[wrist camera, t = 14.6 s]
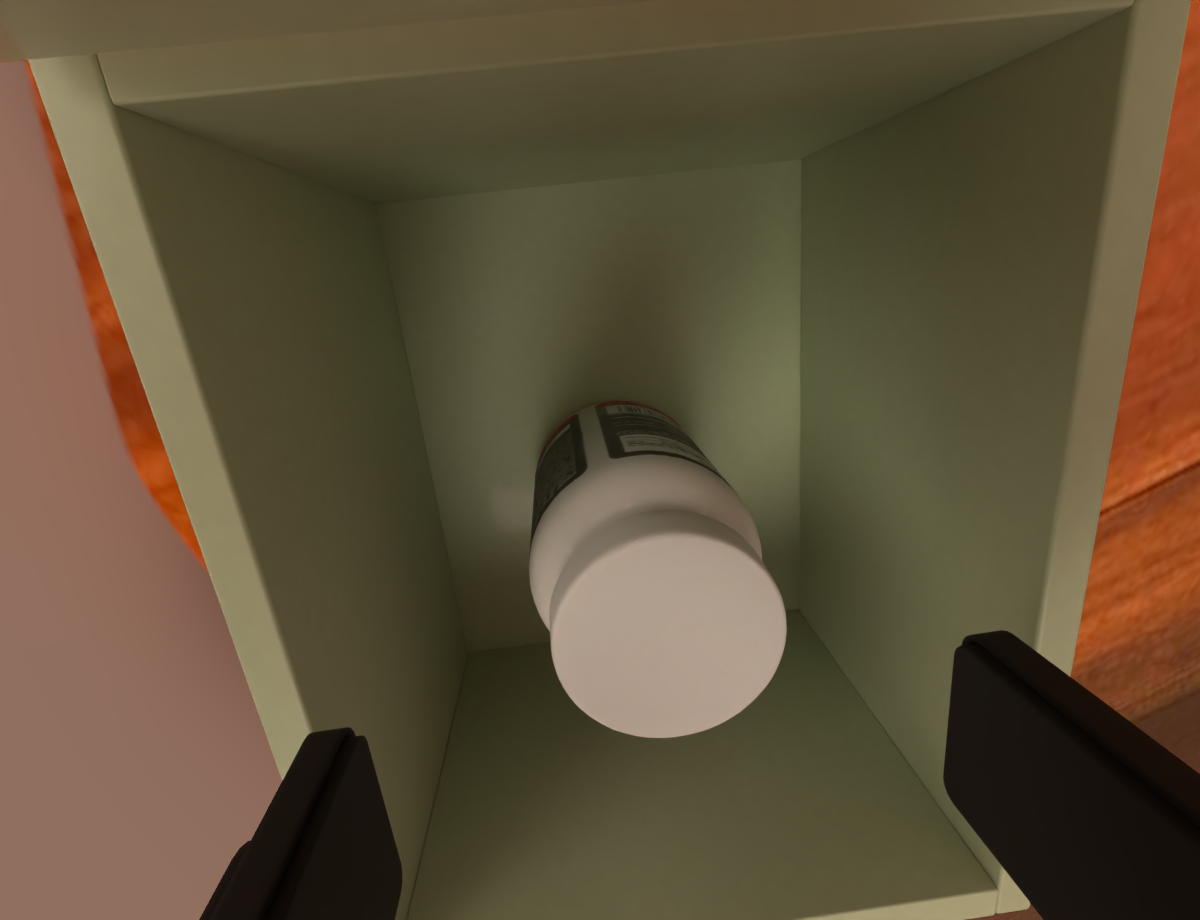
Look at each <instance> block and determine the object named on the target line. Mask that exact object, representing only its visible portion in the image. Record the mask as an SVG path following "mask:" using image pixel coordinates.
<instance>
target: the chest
mask: <svg viewBox="0 0 1200 920" xmlns="http://www.w3.org/2000/svg"><path fill="white" fill-rule="evenodd" d="M1190 5H1191V0H660V1H649V2H638V3H628V4H617V5H606V6H596V7H585V8H575V9H564V10H553V11H543V12H532V13H521V14H511V15H500V16H490V17H479V18H468V19H458V20H447V21H436V22H426V23H415V24H404V25H394V26H383V27H373V28H362V29H351V30H341V31H330V32H319V33H309V34H298V35H288V36H277V37H266V38H256V39H245V40H234V41H224V42H213V43H202V44H192V45H181V46H171V47H160V48H149V49H139V50H128V51H117V52H107V53H96V54H86V55H75V56H64V57H54V58H43V59H32V60H28V61H29V64H30V67H31V70H32V73H33V75H34V78H35V81H36V84H37V87H38V90H39V92H40V95H41V98H42V101H43V104H44V107H45V109H46V112H47V115H48V118H49V121H50V124H51V126H52V129H53V132H54V135H55V138H56V141H57V143H58V146H59V149H60V152H61V155H62V158H63V161H64V163H65V166H66V169H67V172H68V175H69V178H70V180H71V183H72V186H73V189H74V192H75V195H76V197H77V200H78V203H79V206H80V209H81V212H82V214H83V217H84V220H85V223H86V226H87V229H88V231H89V234H90V237H91V240H92V243H93V246H94V248H95V251H96V254H97V257H98V260H99V263H100V265H101V268H102V271H103V274H104V277H105V280H106V282H107V285H108V288H109V291H110V294H111V297H112V299H113V302H114V305H115V308H116V311H117V314H118V316H119V319H120V322H121V325H122V328H123V331H124V333H125V336H126V339H127V342H128V345H129V348H130V350H131V353H132V356H133V359H134V362H135V365H136V367H137V370H138V373H139V376H140V379H141V382H142V385H143V387H144V390H145V393H146V396H147V399H148V402H149V404H150V407H151V410H152V413H153V416H154V419H155V421H156V424H157V427H158V430H159V433H160V436H161V438H162V441H163V444H164V447H165V450H166V453H167V455H168V458H169V461H170V464H171V467H172V470H173V472H174V475H175V478H176V481H177V484H178V487H179V489H180V492H181V495H182V498H183V501H184V504H185V506H186V509H187V512H188V515H189V518H190V521H191V523H192V526H193V529H194V532H195V535H196V538H197V540H198V543H199V546H200V549H201V552H202V555H203V557H204V560H205V563H206V566H207V569H208V572H209V574H210V577H211V580H212V583H213V586H214V588H215V592H216V594H217V597H218V600H219V603H220V606H221V608H222V611H223V614H224V617H225V620H226V622H227V626H228V628H229V631H230V634H231V637H232V640H233V642H234V645H235V648H236V651H237V654H238V657H239V659H240V662H241V665H242V668H243V671H244V674H245V677H246V679H247V682H248V685H249V688H250V690H251V694H252V696H253V699H254V702H255V705H256V708H257V710H258V713H259V716H260V719H261V722H262V725H263V728H264V730H265V733H266V736H267V739H268V742H269V745H270V747H271V750H272V753H273V756H274V759H275V761H276V764H277V767H278V770H279V773H280V776H281V778H282V781H283V779H284V777H285V775H286V773H287V771H288V770H289V768H290V766H291V764H292V762H293V760H294V758H295V756H296V754H297V752H298V751H299V749H300V747H301V745H302V743H303V741H304V739H305V738H306V737H307V735H308V734H310V733H312V732H318V731H324V730H331V729H338V728H345V727H350V728H352V730H353V731H354V733H355V735H356V736H360V735H363V736H365V737H366V739H367V742H368V745H369V749H370V752H371V756H372V760H373V763H374V767H375V770H376V774H377V778H378V781H379V785H380V789H381V792H382V796H383V799H384V803H385V807H386V810H387V814H388V818H389V821H390V825H391V828H392V832H393V836H394V839H395V843H396V846H397V850H398V854H399V857H400V861H401V865H402V890H401V895H400V900H399V904H398V908H397V912H396V917H395V920H965V919H972V918H978V917H985V916H992V915H994V914H995V912H996V913H1005V912H1012V911H1018V910H1025V909H1028V908H1029V906H1030V902H1029V900H1028V899H1027V898H1026V896H1025V895H1024V894H1023V893H1022V891H1021V890H1020V889H1019V887H1018V886H1017V885H1016V884H1015V882H1014V881H1013V880H1012V879H1011V877H1010V876H1009V875H1008V873H1007V872H1006V871H1005V870H1004V868H1003V867H1002V866H1001V864H1000V863H999V862H998V861H997V859H996V858H995V857H994V856H993V854H992V853H991V852H990V850H989V849H988V848H987V847H986V845H985V844H984V843H983V841H982V840H981V839H980V838H979V836H978V835H977V834H976V832H975V831H974V830H973V829H972V827H971V826H970V825H969V824H968V822H967V821H966V820H965V818H964V817H963V816H962V815H961V813H960V812H959V811H958V809H957V808H956V807H955V806H954V804H953V803H952V801H951V800H950V798H949V796H948V794H947V792H946V789H945V786H944V781H943V772H944V761H945V750H946V739H947V727H948V716H949V705H950V694H951V683H952V672H953V661H954V653H955V650H956V648H957V647H959V646H961V645H962V641H963V639H964V638H965V637H966V636H968V635H972V634H979V633H986V632H993V631H999V630H1004V631H1008V632H1010V633H1012V634H1014V635H1015V636H1016V637H1018V638H1019V639H1020V640H1022V641H1023V642H1024V643H1026V644H1027V645H1028V646H1030V647H1031V648H1032V649H1034V650H1035V651H1036V652H1038V653H1039V654H1040V655H1042V656H1043V657H1044V658H1046V659H1047V660H1048V661H1050V662H1051V663H1052V664H1054V665H1055V666H1056V667H1058V668H1059V669H1060V670H1062V671H1063V672H1064V673H1066V674H1067V675H1068V676H1070V677H1071V671H1072V666H1073V660H1074V655H1075V649H1076V643H1077V638H1078V632H1079V627H1080V621H1081V615H1082V610H1083V604H1084V599H1085V593H1086V587H1087V582H1088V576H1089V571H1090V565H1091V559H1092V554H1093V548H1094V543H1095V537H1096V531H1097V526H1098V520H1099V515H1100V509H1101V503H1102V498H1103V492H1104V487H1105V481H1106V475H1107V470H1108V464H1109V459H1110V453H1111V447H1112V442H1113V436H1114V431H1115V425H1116V419H1117V414H1118V408H1119V403H1120V397H1121V391H1122V386H1123V380H1124V375H1125V369H1126V363H1127V358H1128V352H1129V347H1130V341H1131V335H1132V330H1133V324H1134V319H1135V313H1136V307H1137V302H1138V296H1139V291H1140V285H1141V279H1142V274H1143V268H1144V263H1145V257H1146V251H1147V246H1148V240H1149V235H1150V229H1151V223H1152V218H1153V212H1154V207H1155V201H1156V195H1157V190H1158V184H1159V179H1160V173H1161V167H1162V162H1163V156H1164V151H1165V145H1166V139H1167V134H1168V128H1169V123H1170V117H1171V111H1172V106H1173V100H1174V95H1175V89H1176V83H1177V78H1178V72H1179V67H1180V61H1181V55H1182V50H1183V44H1184V39H1185V33H1186V27H1187V22H1188V16H1189V11H1190ZM615 400H626V401H634V402H639V403H643V404H646V405H649V406H652V407H654V408H656V409H658V410H660V411H662V412H663V413H665V414H666V415H668V416H669V417H671V418H672V419H673V420H675V421H676V422H677V423H678V424H679V425H680V426H681V427H682V428H683V430H684V431H685V432H686V433H687V434H688V436H689V437H690V438H691V439H692V440H693V442H694V443H695V444H696V445H697V446H698V448H699V449H700V450H701V451H702V452H703V454H704V455H705V456H706V457H707V458H708V460H709V461H710V462H711V463H712V464H713V466H714V467H715V468H716V469H717V470H718V472H719V473H720V474H721V475H722V476H723V477H724V478H725V479H726V481H727V482H728V483H729V484H730V486H731V487H732V488H733V489H734V490H735V491H736V493H737V494H738V496H739V497H740V499H741V500H742V502H743V503H744V505H745V506H746V508H747V509H748V511H749V513H750V515H751V516H752V518H753V521H754V523H755V525H756V528H757V532H758V535H759V539H760V543H761V551H762V562H763V563H764V565H765V566H766V568H767V570H768V572H769V573H770V575H771V576H772V578H773V579H774V581H775V583H776V585H777V587H778V589H779V591H780V594H781V597H782V599H783V603H784V608H785V613H786V625H787V633H786V642H785V647H784V651H783V654H782V657H781V660H780V663H779V665H778V667H777V669H776V672H775V673H774V675H773V677H772V679H771V680H770V682H769V683H768V685H767V686H766V687H765V689H764V690H763V691H762V692H761V693H760V694H759V695H758V696H757V697H756V698H755V699H754V700H753V701H752V702H751V703H750V704H749V705H748V706H747V707H746V708H744V709H743V710H742V711H741V712H740V713H738V714H736V715H735V716H733V717H732V718H730V719H728V720H727V721H725V722H723V723H721V724H719V725H717V726H715V727H712V728H710V729H707V730H704V731H701V732H698V733H694V734H689V735H684V736H678V737H670V738H647V737H641V736H634V735H630V734H626V733H622V732H619V731H616V730H613V729H611V728H609V727H607V726H605V725H603V724H601V723H599V722H598V721H596V720H594V719H593V718H591V717H590V716H588V715H587V714H586V713H585V712H584V711H582V710H581V709H580V708H579V707H578V706H577V705H576V704H575V703H574V702H573V700H572V699H571V698H570V697H569V695H568V694H567V692H566V691H565V689H564V688H563V686H562V684H561V682H560V681H559V678H558V675H557V673H556V670H555V666H554V663H553V659H552V653H551V637H550V631H549V630H548V628H547V627H546V625H545V624H544V622H543V620H542V618H541V616H540V615H539V612H538V610H537V607H536V605H535V602H534V599H533V595H532V591H531V586H530V576H529V552H530V540H531V527H532V514H533V500H534V487H535V473H536V469H537V464H538V461H539V457H540V454H541V452H542V450H543V448H544V445H545V444H546V442H547V440H548V439H549V437H550V436H551V434H552V433H553V432H554V431H555V429H556V428H557V427H558V426H559V425H560V424H561V423H562V422H564V421H565V420H566V419H567V418H568V417H570V416H571V415H573V414H574V413H576V412H578V411H579V410H581V409H583V408H586V407H588V406H591V405H594V404H597V403H601V402H606V401H615Z"/></svg>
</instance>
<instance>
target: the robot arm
mask: <svg viewBox="0 0 1200 920" xmlns="http://www.w3.org/2000/svg"><path fill="white" fill-rule="evenodd" d="M943 781H944V786H945V789H946V792H947V794H948V796H949V798H950V800H951V801H952V803H953V804H954V806H955V807H956V808H957V809H958V811H959V812H960V813H961V815H962V816H963V817H964V818H965V820H966V821H967V822H968V824H969V825H970V826H971V827H972V829H973V830H974V831H975V832H976V834H977V835H978V836H979V838H980V839H981V840H982V841H983V843H984V844H985V845H986V847H987V848H988V849H989V850H990V852H991V853H992V854H993V856H994V857H995V858H996V859H997V861H998V862H999V863H1000V864H1001V866H1002V867H1003V868H1004V870H1005V871H1006V872H1007V873H1008V875H1009V876H1010V877H1011V879H1012V880H1013V881H1014V882H1015V884H1016V885H1017V886H1018V887H1019V889H1020V890H1021V891H1022V893H1023V894H1024V895H1025V896H1026V898H1027V899H1028V900H1029V902H1030V903H1031V904H1032V905H1033V907H1034V908H1035V909H1036V911H1037V912H1038V913H1039V914H1040V916H1041V917H1042V918H1043V919H1044V920H1200V774H1199V773H1197V772H1196V771H1195V770H1193V769H1192V768H1191V767H1189V766H1188V765H1187V764H1185V763H1184V762H1183V761H1181V760H1180V759H1179V758H1177V757H1176V756H1175V755H1173V754H1172V753H1171V752H1169V751H1168V750H1167V749H1165V748H1164V747H1163V746H1161V745H1160V744H1159V743H1157V742H1156V741H1155V740H1153V739H1152V738H1151V737H1150V736H1148V735H1147V734H1146V733H1144V732H1143V731H1142V730H1140V729H1139V728H1138V727H1136V726H1135V725H1134V724H1132V723H1131V722H1130V721H1128V720H1127V719H1126V718H1124V717H1123V716H1122V715H1120V714H1119V713H1118V712H1116V711H1115V710H1114V709H1112V708H1111V707H1110V706H1108V705H1107V704H1106V703H1104V702H1103V701H1102V700H1100V699H1099V698H1098V697H1096V696H1095V695H1094V694H1092V693H1091V692H1090V691H1088V690H1087V689H1086V688H1084V687H1083V686H1082V685H1080V684H1079V683H1078V682H1076V681H1075V680H1074V679H1072V678H1071V677H1070V676H1068V675H1067V674H1066V673H1064V672H1063V671H1062V670H1060V669H1059V668H1058V667H1056V666H1055V665H1054V664H1052V663H1051V662H1050V661H1048V660H1047V659H1046V658H1044V657H1043V656H1042V655H1040V654H1039V653H1038V652H1036V651H1035V650H1034V649H1032V648H1031V647H1030V646H1028V645H1027V644H1026V643H1024V642H1023V641H1022V640H1020V639H1019V638H1018V637H1016V636H1015V635H1014V634H1012V633H1010V632H1008V631H1004V630H999V631H993V632H986V633H979V634H972V635H968V636H966V637H965V638H964V639H963V641H962V645H961V646H959V647H957V648H956V650H955V653H954V661H953V672H952V683H951V694H950V705H949V716H948V727H947V739H946V750H945V761H944V772H943ZM401 890H402V865H401V861H400V857H399V854H398V850H397V846H396V843H395V839H394V836H393V832H392V828H391V825H390V821H389V818H388V814H387V810H386V807H385V803H384V799H383V796H382V792H381V789H380V785H379V781H378V778H377V774H376V770H375V767H374V763H373V760H372V756H371V752H370V749H369V745H368V742H367V739H366V737H365V736H363V735H360V736H356V735H355V733H354V731H353V730H352V728H350V727H345V728H338V729H331V730H324V731H318V732H312V733H310V734H308V735H307V737H306V738H305V739H304V741H303V743H302V745H301V747H300V749H299V751H298V752H297V754H296V756H295V758H294V760H293V762H292V764H291V766H290V768H289V770H288V771H287V773H286V775H285V777H284V779H283V781H282V783H281V785H280V787H279V788H278V791H277V792H276V795H275V796H274V798H273V800H272V802H271V804H270V806H269V807H268V809H267V811H266V813H265V815H264V817H263V819H262V821H261V823H260V824H259V827H258V828H257V830H256V832H255V834H254V836H253V838H252V840H251V841H248V842H247V843H246V844H244V845H243V846H242V847H241V848H240V849H239V850H238V852H237V853H236V854H235V856H234V857H233V859H232V860H231V862H230V864H229V866H228V868H227V870H226V872H225V874H224V875H223V877H222V879H221V881H220V883H219V884H218V886H217V888H216V890H215V892H214V894H213V895H212V897H211V899H210V901H209V903H208V905H207V906H206V908H205V910H204V912H203V914H202V916H201V918H200V919H199V920H395V917H396V912H397V908H398V904H399V900H400V895H401Z"/></svg>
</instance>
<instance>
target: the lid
mask: <svg viewBox="0 0 1200 920" xmlns="http://www.w3.org/2000/svg"><path fill="white" fill-rule="evenodd" d="M649 1H660V0H0V62H11V61H22V60H32V59H43V58H54V57H64V56H75V55H86V54H96V53H107V52H117V51H128V50H139V49H149V48H160V47H171V46H181V45H192V44H202V43H213V42H224V41H234V40H245V39H256V38H266V37H277V36H288V35H298V34H309V33H319V32H330V31H341V30H351V29H362V28H373V27H383V26H394V25H404V24H415V23H426V22H436V21H447V20H458V19H468V18H479V17H490V16H500V15H511V14H521V13H532V12H543V11H553V10H564V9H575V8H585V7H596V6H606V5H617V4H628V3H638V2H649Z"/></svg>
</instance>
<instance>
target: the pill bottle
mask: <svg viewBox="0 0 1200 920" xmlns="http://www.w3.org/2000/svg"><path fill="white" fill-rule="evenodd" d="M529 576H530V586H531V591H532V595H533V599H534V602H535V605H536V607H537V610H538V612H539V615H540V616H541V618H542V620H543V622H544V624H545V625H546V627H547V628H548V630H549V631H550V637H551V653H552V659H553V663H554V666H555V670H556V673H557V675H558V678H559V681H560V682H561V684H562V686H563V688H564V689H565V691H566V692H567V694H568V695H569V697H570V698H571V699H572V700H573V702H574V703H575V704H576V705H577V706H578V707H579V708H580V709H581V710H582V711H584V712H585V713H586V714H587V715H588V716H590V717H591V718H593V719H594V720H596V721H598V722H599V723H601V724H603V725H605V726H607V727H609V728H611V729H613V730H616V731H619V732H622V733H626V734H630V735H634V736H641V737H647V738H670V737H678V736H684V735H689V734H694V733H698V732H701V731H704V730H707V729H710V728H712V727H715V726H717V725H719V724H721V723H723V722H725V721H727V720H728V719H730V718H732V717H733V716H735V715H736V714H738V713H740V712H741V711H742V710H743V709H744V708H746V707H747V706H748V705H749V704H750V703H751V702H752V701H753V700H754V699H755V698H756V697H757V696H758V695H759V694H760V693H761V692H762V691H763V690H764V689H765V687H766V686H767V685H768V683H769V682H770V680H771V679H772V677H773V675H774V673H775V672H776V669H777V667H778V665H779V663H780V660H781V657H782V654H783V651H784V647H785V642H786V633H787V625H786V613H785V608H784V603H783V599H782V597H781V594H780V591H779V589H778V587H777V585H776V583H775V581H774V579H773V578H772V576H771V575H770V573H769V572H768V570H767V568H766V566H765V565H764V563H763V562H762V551H761V543H760V539H759V535H758V532H757V528H756V525H755V523H754V521H753V518H752V516H751V515H750V513H749V511H748V509H747V508H746V506H745V505H744V503H743V502H742V500H741V499H740V497H739V496H738V494H737V493H736V491H735V490H734V489H733V488H732V487H731V486H730V484H729V483H728V482H727V481H726V479H725V478H724V477H723V476H722V475H721V474H720V473H719V472H718V470H717V469H716V468H715V467H714V466H713V464H712V463H711V462H710V461H709V460H708V458H707V457H706V456H705V455H704V454H703V452H702V451H701V450H700V449H699V448H698V446H697V445H696V444H695V443H694V442H693V440H692V439H691V438H690V437H689V436H688V434H687V433H686V432H685V431H684V430H683V428H682V427H681V426H680V425H679V424H678V423H677V422H676V421H675V420H673V419H672V418H671V417H669V416H668V415H666V414H665V413H663V412H662V411H660V410H658V409H656V408H654V407H652V406H649V405H646V404H643V403H639V402H634V401H626V400H615V401H606V402H601V403H597V404H594V405H591V406H588V407H586V408H583V409H581V410H579V411H578V412H576V413H574V414H573V415H571V416H570V417H568V418H567V419H566V420H565V421H564V422H562V423H561V424H560V425H559V426H558V427H557V428H556V429H555V431H554V432H553V433H552V434H551V436H550V437H549V439H548V440H547V442H546V444H545V445H544V448H543V450H542V452H541V454H540V457H539V461H538V464H537V469H536V473H535V487H534V500H533V514H532V527H531V540H530V552H529Z"/></svg>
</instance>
